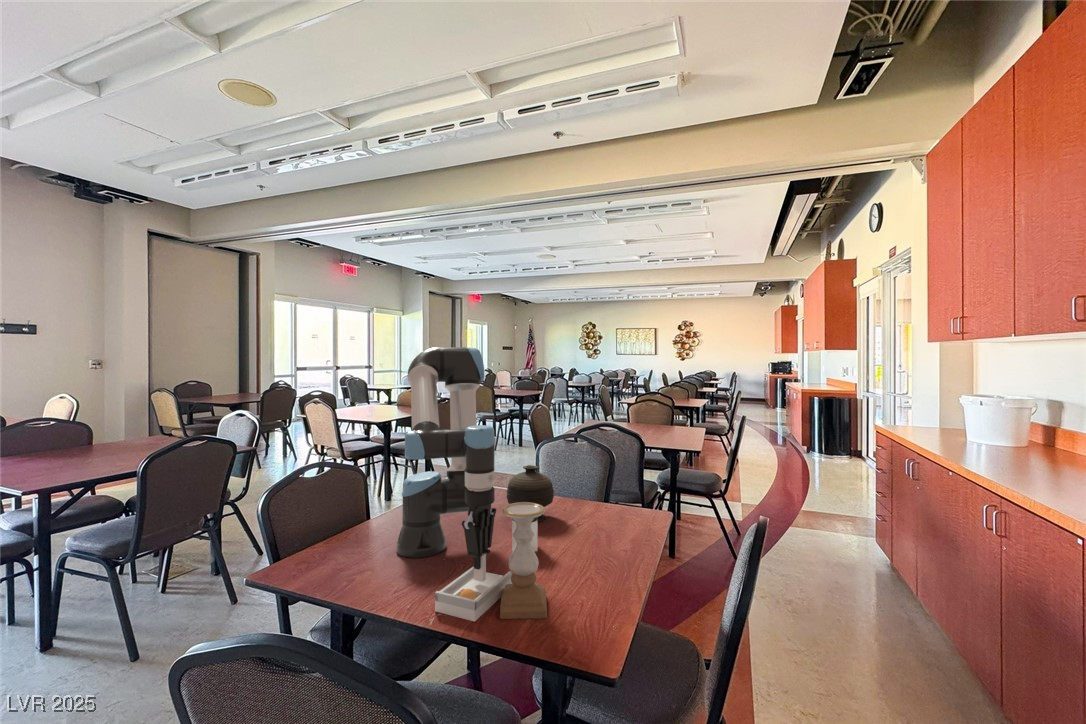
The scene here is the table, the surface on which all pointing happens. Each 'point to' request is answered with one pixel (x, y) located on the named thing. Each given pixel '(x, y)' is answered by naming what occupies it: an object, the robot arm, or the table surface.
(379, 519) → the table surface
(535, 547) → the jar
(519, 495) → the pot
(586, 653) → the table surface
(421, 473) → the robot arm
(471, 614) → the tray
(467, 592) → the ball
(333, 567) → the table surface
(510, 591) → the candle holder
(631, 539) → the table surface
